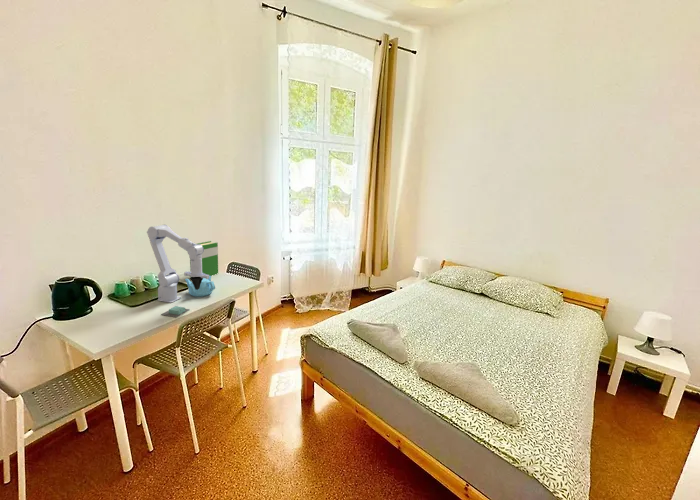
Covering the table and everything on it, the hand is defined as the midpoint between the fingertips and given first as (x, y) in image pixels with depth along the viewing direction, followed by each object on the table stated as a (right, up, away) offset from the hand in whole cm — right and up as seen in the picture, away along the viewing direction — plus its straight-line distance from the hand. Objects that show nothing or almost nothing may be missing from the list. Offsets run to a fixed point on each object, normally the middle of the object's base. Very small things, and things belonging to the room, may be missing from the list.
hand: (197, 289), depth 177 cm
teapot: (-7, -5, +19) cm, 21 cm away
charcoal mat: (-8, -12, -8) cm, 16 cm away
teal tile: (-9, -10, -8) cm, 16 cm away
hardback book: (-19, +3, +50) cm, 54 cm away
